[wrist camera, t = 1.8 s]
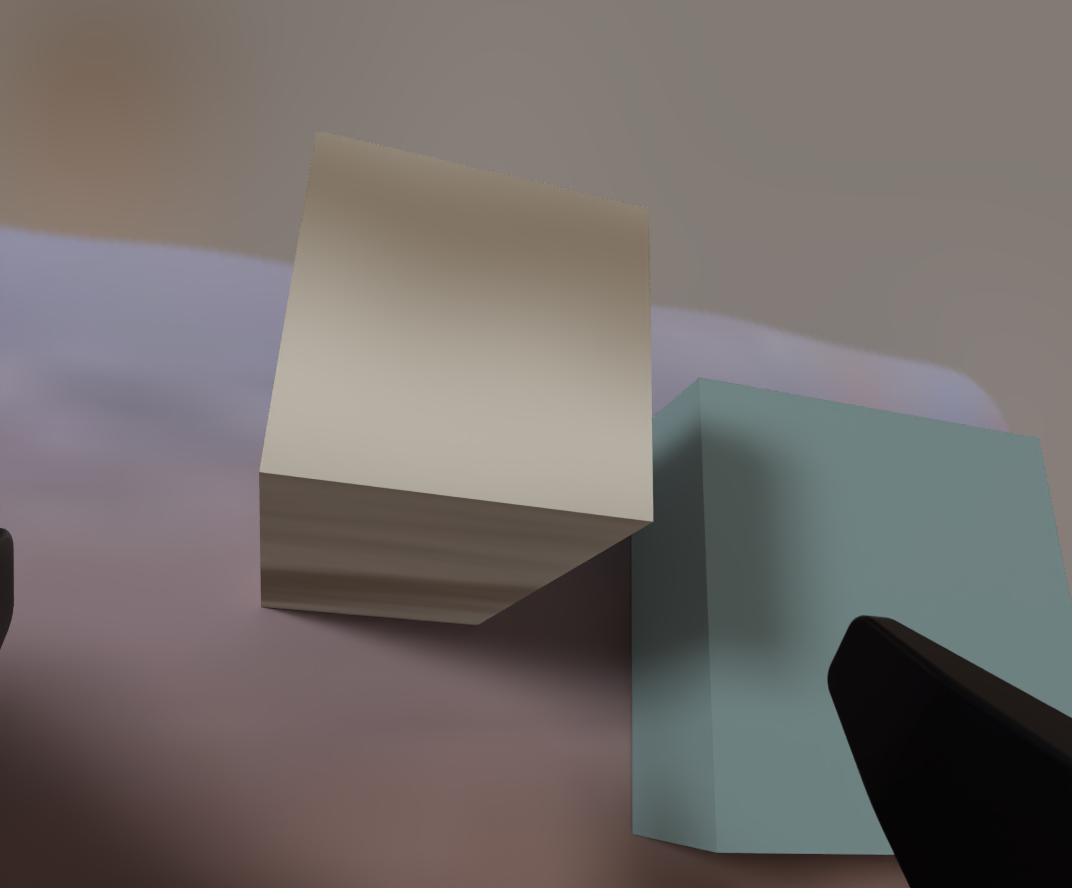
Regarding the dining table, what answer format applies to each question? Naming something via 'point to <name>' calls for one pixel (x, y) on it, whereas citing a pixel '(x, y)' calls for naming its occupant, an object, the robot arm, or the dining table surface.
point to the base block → (818, 601)
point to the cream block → (453, 389)
